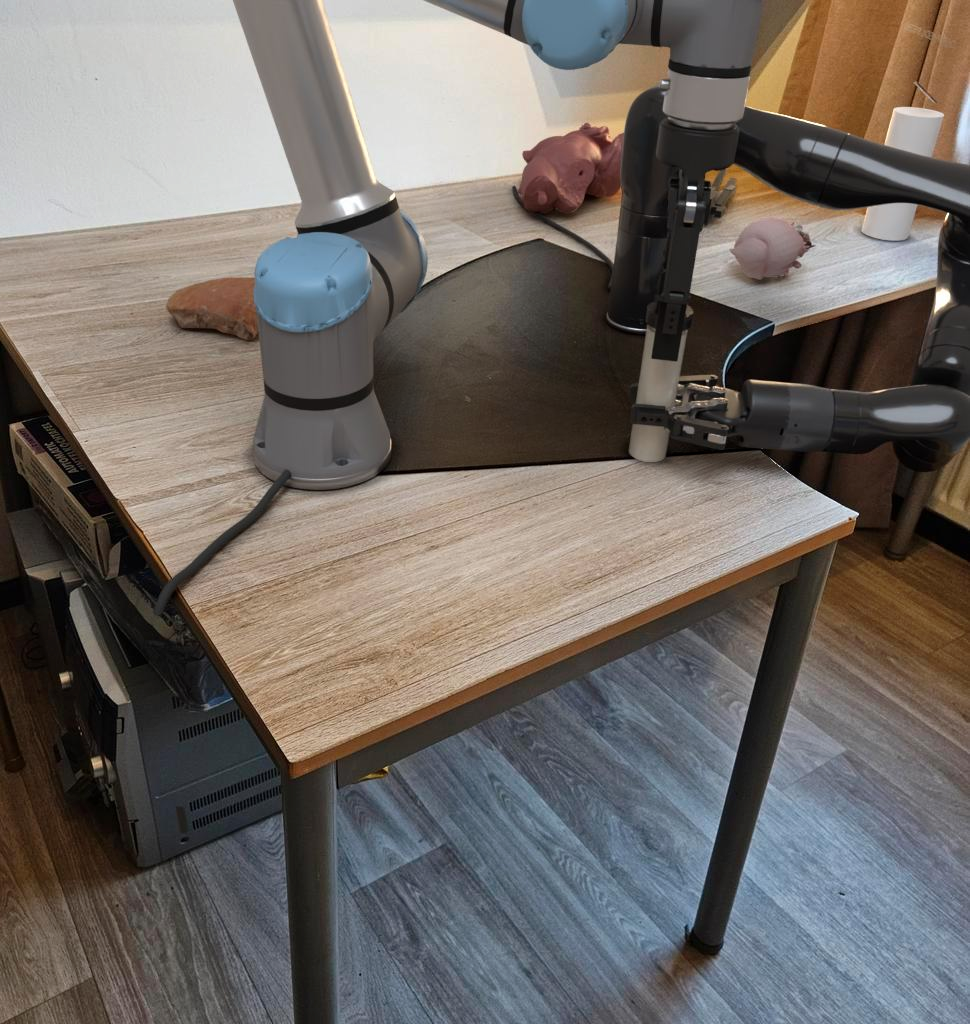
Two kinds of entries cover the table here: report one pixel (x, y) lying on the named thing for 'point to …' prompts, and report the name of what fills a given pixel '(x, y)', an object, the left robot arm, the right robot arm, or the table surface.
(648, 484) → the table surface
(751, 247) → the toy
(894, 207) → the tall white tube
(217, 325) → the ceramic shard
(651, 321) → the lid
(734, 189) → the toy
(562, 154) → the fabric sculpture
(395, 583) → the table surface
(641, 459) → the beige cylinder
